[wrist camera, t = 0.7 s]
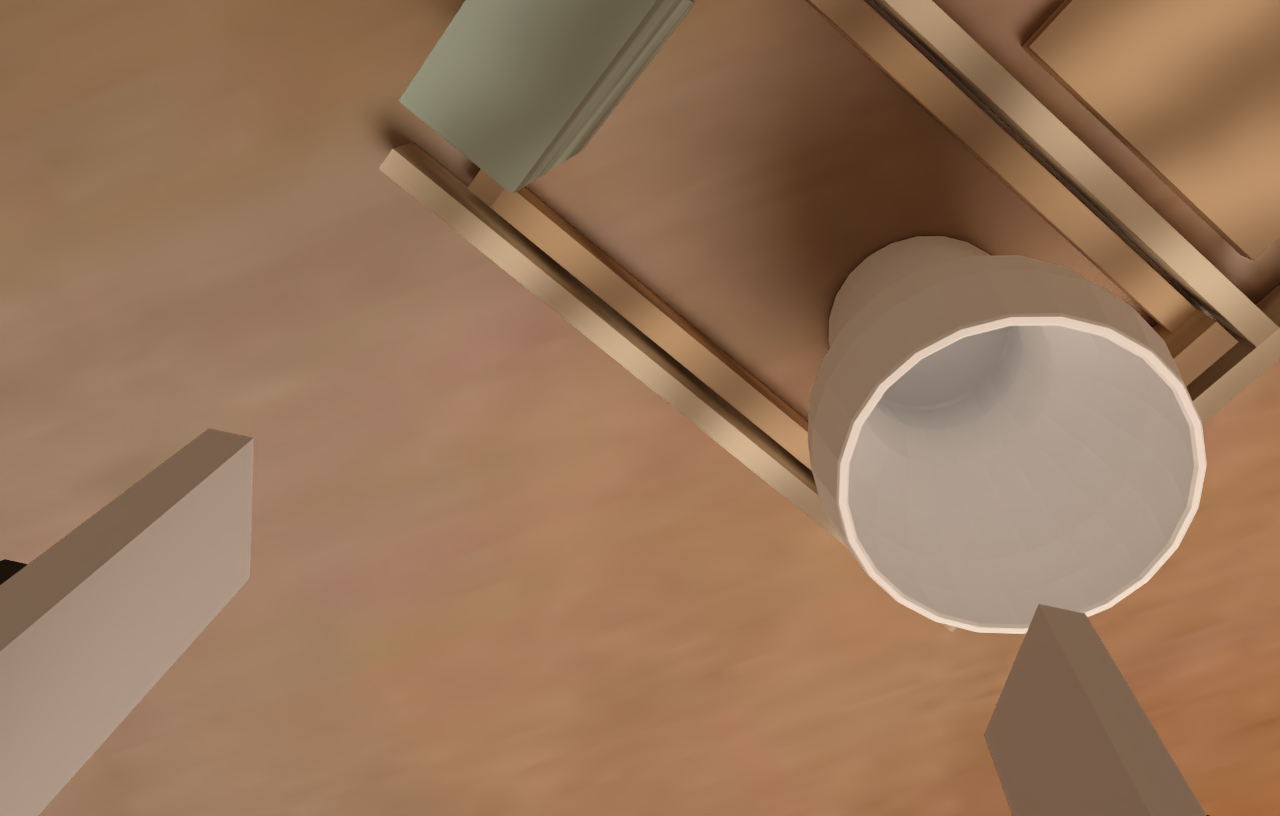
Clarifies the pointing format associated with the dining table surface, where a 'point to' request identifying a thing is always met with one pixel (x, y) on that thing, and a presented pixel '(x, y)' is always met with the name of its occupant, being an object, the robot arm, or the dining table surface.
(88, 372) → the dining table surface
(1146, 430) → the cup
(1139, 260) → the rail with green post
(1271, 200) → the lane rails
